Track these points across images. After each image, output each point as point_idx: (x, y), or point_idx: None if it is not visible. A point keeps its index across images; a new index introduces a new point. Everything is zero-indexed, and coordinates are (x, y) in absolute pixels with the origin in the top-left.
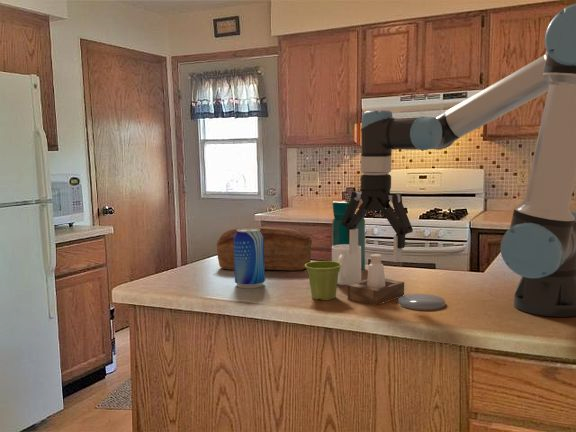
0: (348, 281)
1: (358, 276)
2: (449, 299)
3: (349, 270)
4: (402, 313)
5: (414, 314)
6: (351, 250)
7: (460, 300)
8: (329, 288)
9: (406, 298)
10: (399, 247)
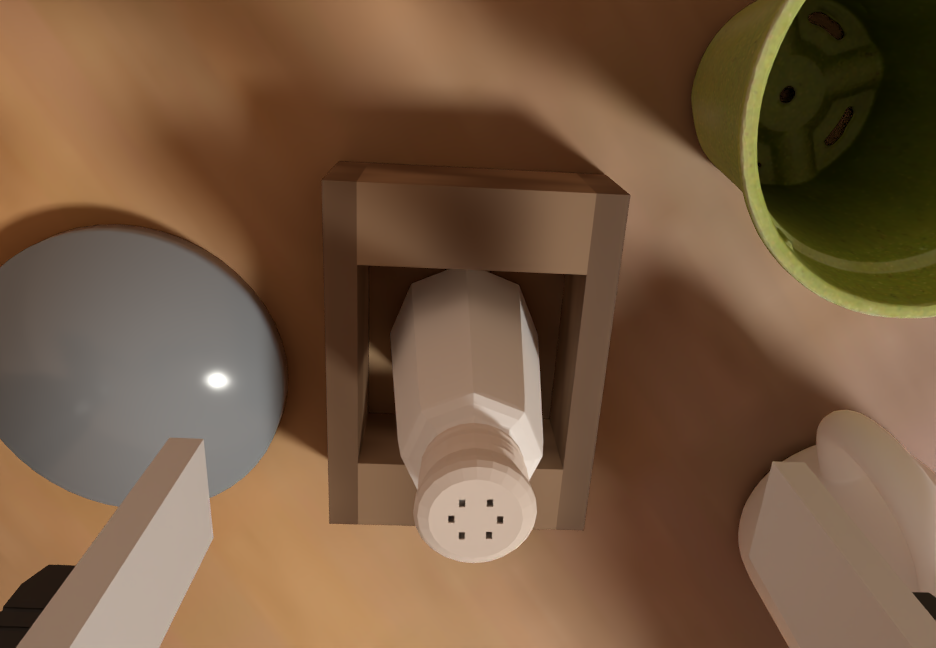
0: None
1: None
2: (85, 542)
3: None
4: (77, 97)
5: (5, 129)
6: (797, 490)
7: (27, 558)
8: (731, 41)
9: (220, 351)
10: (66, 573)
